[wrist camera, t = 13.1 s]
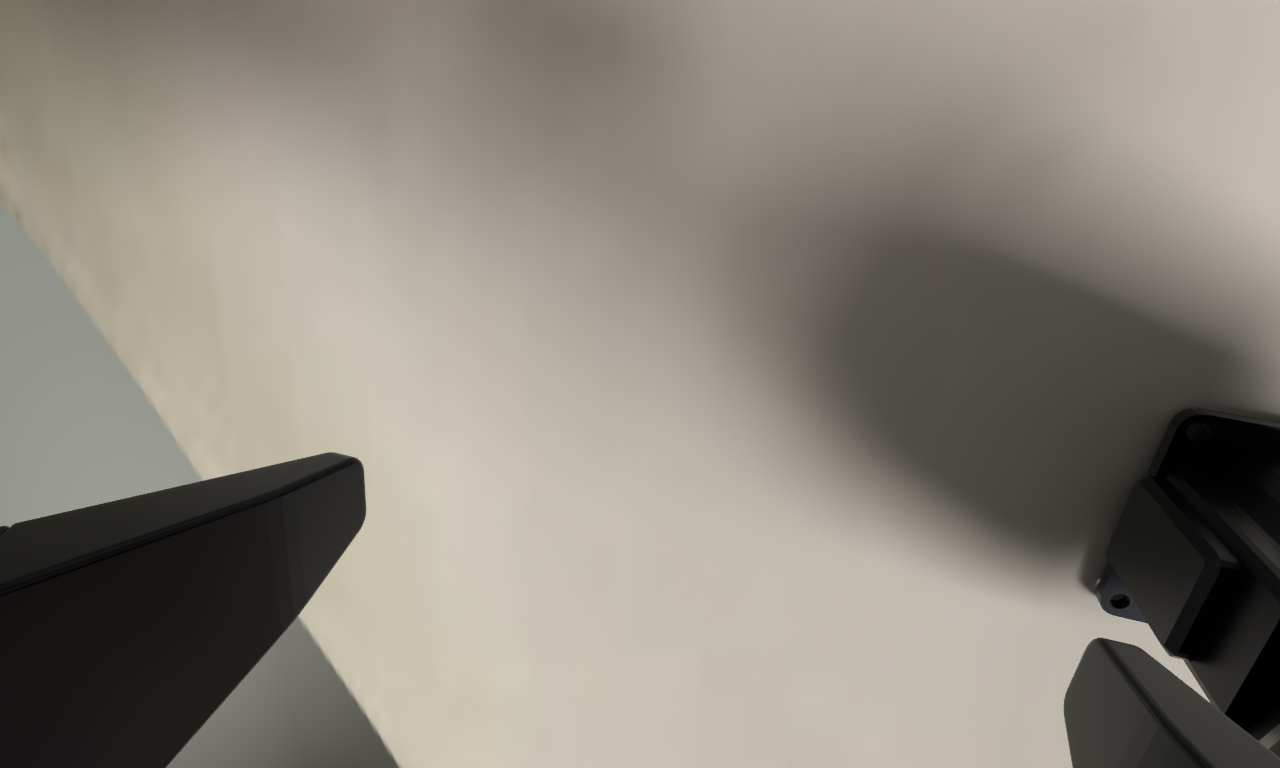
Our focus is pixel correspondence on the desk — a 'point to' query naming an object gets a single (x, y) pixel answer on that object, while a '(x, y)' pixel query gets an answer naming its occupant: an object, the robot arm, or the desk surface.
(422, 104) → the desk surface
